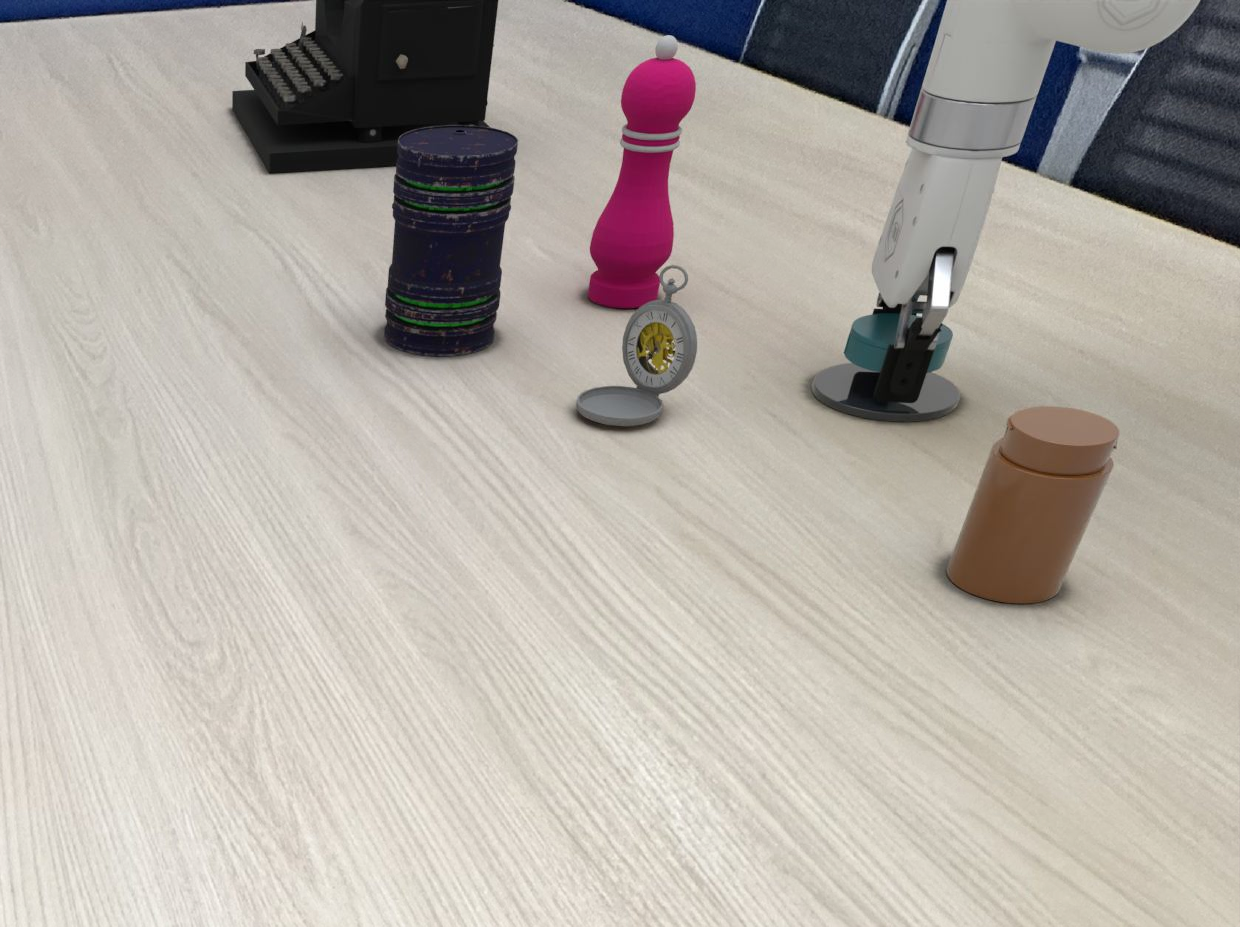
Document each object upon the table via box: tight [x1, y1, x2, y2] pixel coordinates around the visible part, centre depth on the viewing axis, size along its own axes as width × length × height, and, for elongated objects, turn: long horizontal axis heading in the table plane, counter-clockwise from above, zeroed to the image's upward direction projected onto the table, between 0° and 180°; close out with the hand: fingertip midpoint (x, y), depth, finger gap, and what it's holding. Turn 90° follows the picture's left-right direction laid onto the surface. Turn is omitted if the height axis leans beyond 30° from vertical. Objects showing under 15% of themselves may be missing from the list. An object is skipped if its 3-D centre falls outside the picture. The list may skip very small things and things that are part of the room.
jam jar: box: [946, 405, 1121, 605], centre depth 90 cm, size 7×7×10 cm
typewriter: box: [231, 0, 499, 175], centre depth 167 cm, size 31×27×25 cm
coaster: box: [811, 362, 961, 423], centre depth 115 cm, size 11×11×1 cm
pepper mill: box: [587, 34, 697, 310], centre depth 125 cm, size 7×7×20 cm
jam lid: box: [843, 313, 954, 373], centre depth 112 cm, size 7×7×2 cm
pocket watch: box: [575, 264, 698, 427], centre depth 110 cm, size 8×8×10 cm
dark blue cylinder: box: [383, 125, 519, 357], centre depth 121 cm, size 10×10×15 cm
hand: (887, 379), depth 114 cm, fingers closed on jam lid, 7 cm apart
